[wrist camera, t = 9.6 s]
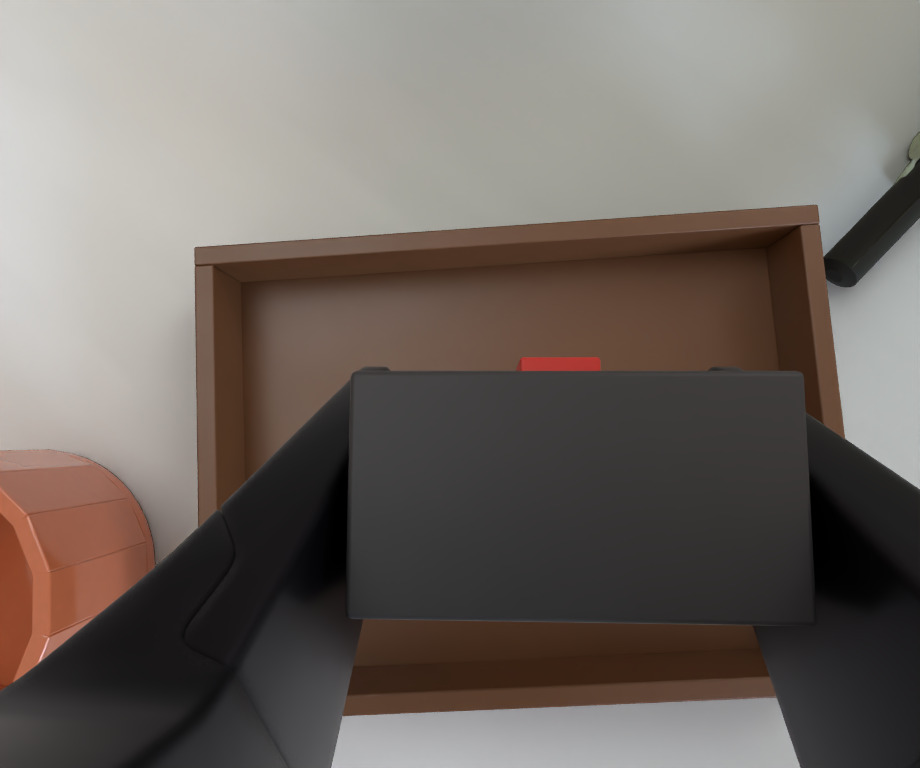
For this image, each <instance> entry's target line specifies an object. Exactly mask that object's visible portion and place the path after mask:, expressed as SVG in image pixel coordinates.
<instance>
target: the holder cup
mask: <svg viewBox="0 0 920 768" xmlns="http://www.w3.org/2000/svg"><path fill="white" fill-rule="evenodd" d="M153 568H155V557H154V546H153V541H152V536H151V532H150V529H149V526H148V523H147V520H146V517H145V515H144V513H143V511H142V509H141V507H140V505H139V504H138V502H137V501H136V499H135V498H134V496H133V495H132V493H131V492H130V491H129V490H128V488H127V487H126V486H125V485H124V484H123V483H122V482H121V481H120V480H119V479H118V478H117V477H116V476H114V475H113V474H112V473H111V472H110V471H108V470H107V469H105V468H104V467H102V466H100V465H99V464H97V463H95V462H93V461H91V460H89V459H86V458H84V457H81V456H78V455H75V454H71V453H67V452H60V451H54V450H8V451H0V691H1V690H2V689H4V688H5V687H7V686H8V685H10V684H11V683H13V682H14V681H16V680H17V679H19V678H20V677H21V676H23V675H24V674H25V673H27V672H28V671H29V670H31V669H32V668H33V667H35V666H36V665H37V664H38V663H40V662H41V661H42V660H43V659H45V658H46V657H47V656H48V655H49V654H51V653H52V652H53V651H54V650H55V649H57V648H58V647H59V646H60V645H62V644H63V643H64V642H65V641H66V640H68V639H69V638H70V637H71V636H73V635H74V634H75V633H76V632H77V631H79V630H80V629H81V628H82V627H84V626H85V625H86V624H87V623H88V622H90V621H91V620H92V619H93V618H95V617H96V616H97V615H98V614H99V613H101V612H102V611H103V610H104V609H106V608H107V607H108V606H109V605H110V604H112V603H113V602H114V601H115V600H117V599H118V598H119V597H120V596H121V595H123V594H124V593H125V592H126V591H128V590H129V589H130V588H131V587H132V586H133V585H135V584H136V583H137V582H138V581H139V580H141V579H142V578H143V577H144V576H145V575H146V574H148V573H149V572H150V571H151V570H152V569H153Z"/></svg>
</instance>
